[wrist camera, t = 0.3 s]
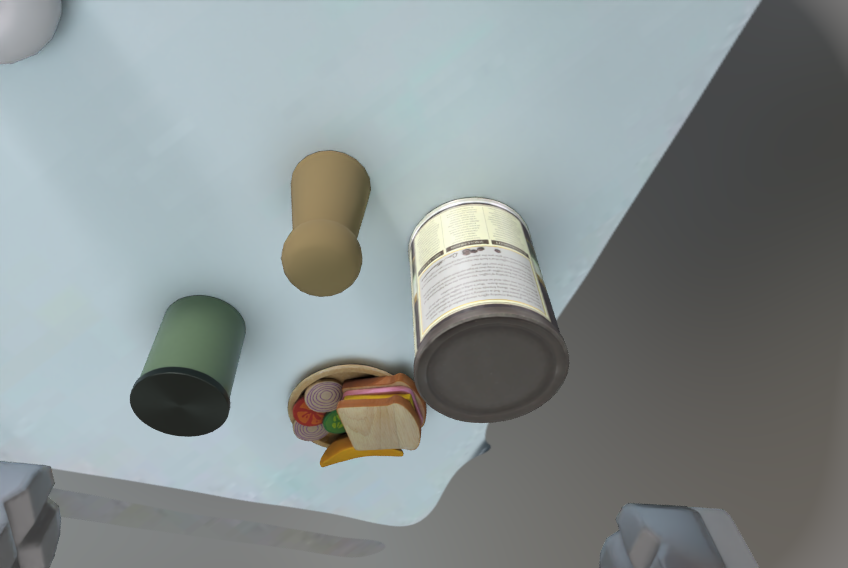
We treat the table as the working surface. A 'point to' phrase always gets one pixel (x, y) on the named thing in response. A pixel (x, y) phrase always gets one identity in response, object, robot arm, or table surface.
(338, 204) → the cork
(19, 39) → the donut
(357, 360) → the table surface
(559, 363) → the coffee can
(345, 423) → the toy sandwich meal
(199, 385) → the olive tin
